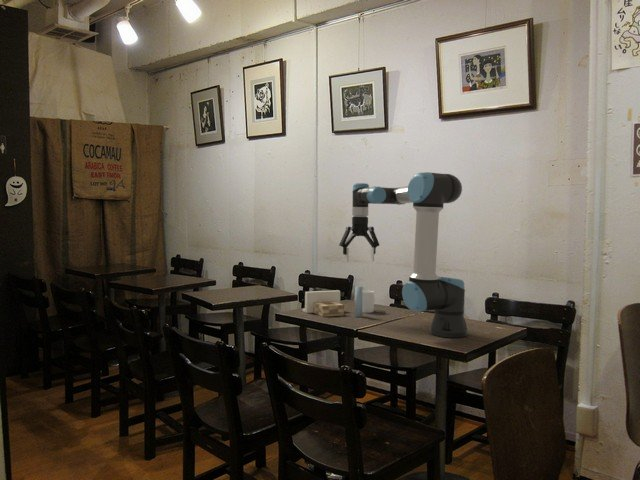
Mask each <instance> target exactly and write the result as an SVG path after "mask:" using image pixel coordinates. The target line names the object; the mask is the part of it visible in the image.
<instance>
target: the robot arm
mask: <svg viewBox="0 0 640 480" xmlns="http://www.w3.org/2000/svg"><path fill="white" fill-rule="evenodd" d="M462 191H463V185H462V182H461V180H460V179H459V177H456V176H455V175H453V174H450V173H440V172H439V173H438V172H428V171H427V172H418V173H416V174H414V175H413V176H412V178H411V179H410V181H409V182H408V185H407V186H400V187H383V186H382V187H381V186H370V185H369V184H368V183H366V182H363V183H362V182H360V183H359V182H357V183H354V184H353V186H352V192H351V193H352V209H351V210H352V211H351V212H352V213H351V214H352V217H351V225H352V226H349V225H347V226H346V227H345V231H344V233H343V236H342V238H341V240H340V243H339V244H338V245H339V247H341V248H342V249H343V250H342V254H343V255H344V261H343V262H344V263H346V262H347V263H349V258H350V256H349V254H350V253H349V251H350V247H349V245H350V244H351V243H352V241H353V240H354V239H355V238H356V237H364V238H365V239H366V240H367V242H368V244H369V245H370V247H369V261H370V262H375V255H376V248H377V247H379V246H380V242H379V240H378V238H377V235H376V233H375V228H374V226H369V217H368V216H369V205H370V204H372V205H373V204H375V205H377V204H378V205H398V206H400V205H406V204H411V203H412V208H413V209H414V210H415V211H416V219H415V234H414V236H415V238H414V250H413V252H414V254H413V257H414V258H413V269H412V270H413V271H412V273H410V274H409V277H408V281H407V282H405V283H404V285H403V286H402V290H401V295H402V300H403V302H404V303H405V306H406V307H407V308H408V309H409V310H410V311H413V312H426V311H434V314H433V318H432V320H431V324H430V326H429V334H431V335H433V336H436V337H441V338H450V339H451V338H452V339H454V338H458V339H459V338H464V337H465V338H466V337H468V331H469V330H468V326H467V322H466V320H465V293H466V289H465V282H464V280H463V279H460V278H454V277H447V276H446V277H445V276H438V275H437V273H436V270H437V253H438V239H439V237H438V235H439V222H440V221H439V217H440V212H441V211H442V210H443V209H444V205H445V204H451V203H454V202H456V201H457V200H458V199H459V198H460V197H461V195H462ZM351 231H352V232H351ZM368 232H369V233H368Z"/></svg>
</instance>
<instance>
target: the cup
mask: <svg viewBox="0 0 640 480" xmlns="http://www.w3.org/2000/svg"><path fill="white" fill-rule="evenodd" d="M374 309H375V291H374V290H368V289H363V293H362V314H370V313H374Z"/></svg>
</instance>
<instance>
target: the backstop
mask: <svg viewBox="0 0 640 480" xmlns="http://www.w3.org/2000/svg"><path fill="white" fill-rule="evenodd" d="M331 301H335V302H337V303H340V304H341V290H339V289H336V290H335V289H334V290H317V291H316V290H315V291H305V292H304V308H302V312H304V313H306V314H311V313H314V302H331ZM314 314H315V313H314Z"/></svg>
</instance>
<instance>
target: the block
mask: <svg viewBox="0 0 640 480" xmlns="http://www.w3.org/2000/svg"><path fill="white" fill-rule="evenodd" d="M314 314H316V315H318V316H321V317H323V318H324V317H325V318H326V317H335V316H344V315H345V304H342V303H341V302H340V303H337V302H335V301H331V302H314Z"/></svg>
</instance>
